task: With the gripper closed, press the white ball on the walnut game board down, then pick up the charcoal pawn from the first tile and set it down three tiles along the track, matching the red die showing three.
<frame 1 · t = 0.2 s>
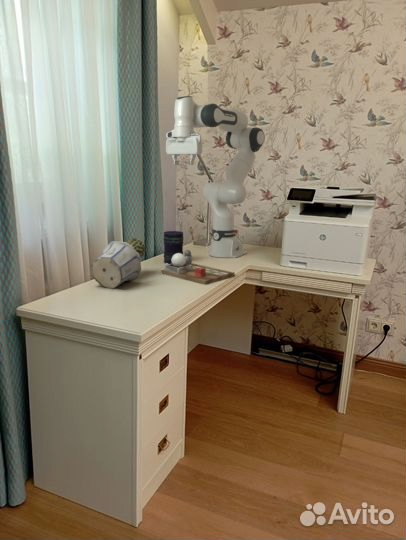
hand: (183, 164, 198), 47 cm above the table, fingers open, 8 cm apart
white ball: (178, 260, 190), point 6 cm above the table, slide at 0.0 cm
potted plant: (124, 281, 179), on the table
pawn: (187, 265, 199), point 2 cm above the table, touching board
storage jar: (173, 262, 215), on the table
board: (197, 274, 191), on the table
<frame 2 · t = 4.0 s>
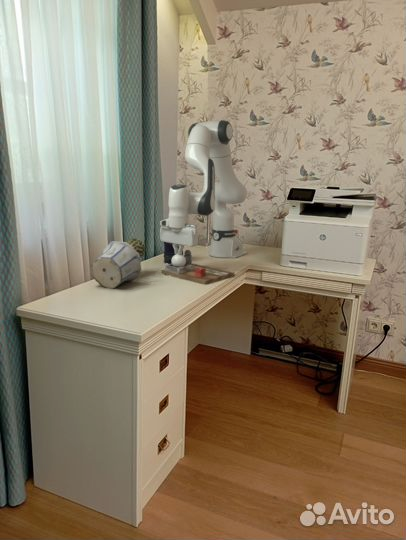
hand: (178, 254, 189), 9 cm above the table, fingers closed, pressing on white ball
white ball: (178, 261, 190), point 6 cm above the table, slide at -0.3 cm, touching gripper
everything else where it was.
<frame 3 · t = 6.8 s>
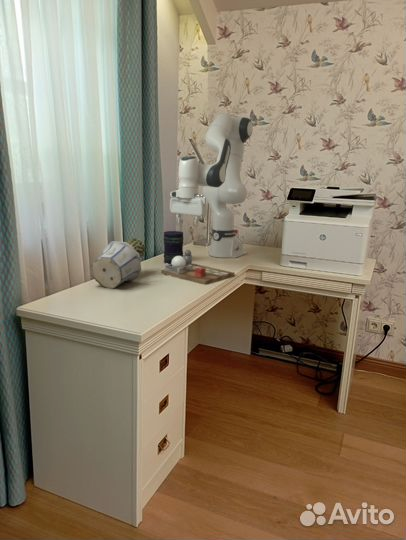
hand: (187, 224, 195), 21 cm above the table, fingers open, 8 cm apart
white ball: (178, 262, 190), point 5 cm above the table, slide at -1.2 cm
everything else where it was.
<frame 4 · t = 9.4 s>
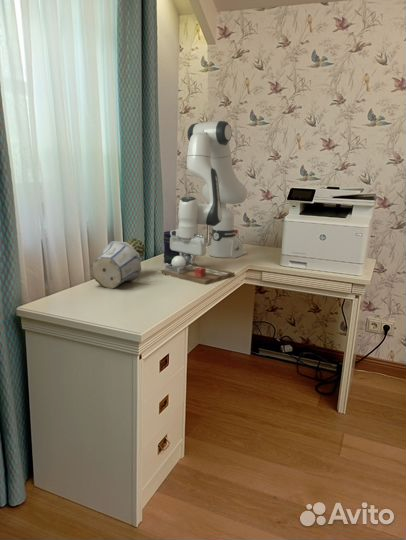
hand: (187, 262, 199), 3 cm above the table, fingers closed on pawn, 4 cm apart
pawn: (187, 265, 199), point 2 cm above the table, touching board, gripper
everything else where it was.
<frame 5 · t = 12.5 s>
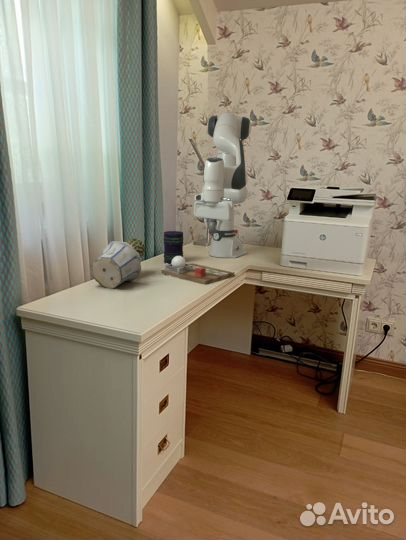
hand: (213, 229, 185), 21 cm above the table, fingers closed on pawn, 4 cm apart
pawn: (212, 232, 186), point 19 cm above the table, touching gripper
everything else where it was.
when the fingers open (4 cm above the table, at t = 15.6 s): pawn drops 1 cm, resting on board.
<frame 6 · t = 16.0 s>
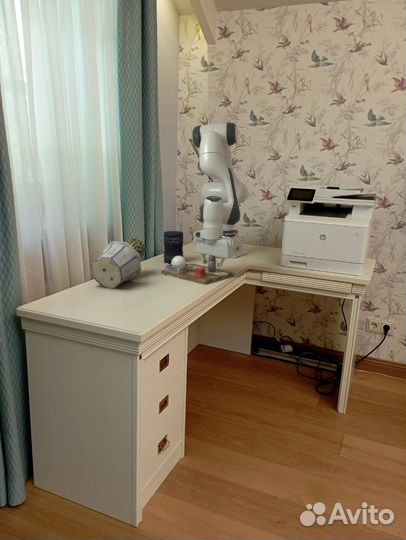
hand: (212, 265, 189), 4 cm above the table, fingers open, 7 cm apart
pawn: (211, 271, 190), point 2 cm above the table, touching board
everything else where it was.
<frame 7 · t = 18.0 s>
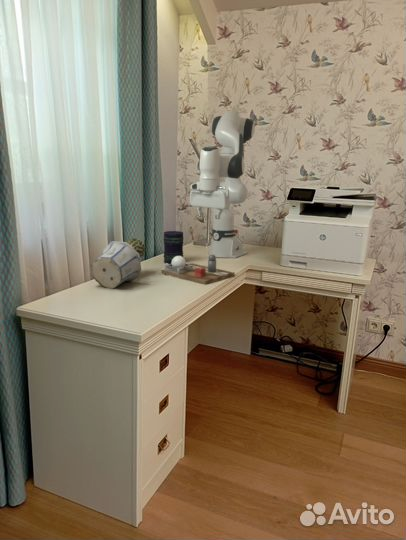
hand: (209, 218, 187), 25 cm above the table, fingers open, 8 cm apart
nothing on the table moved.
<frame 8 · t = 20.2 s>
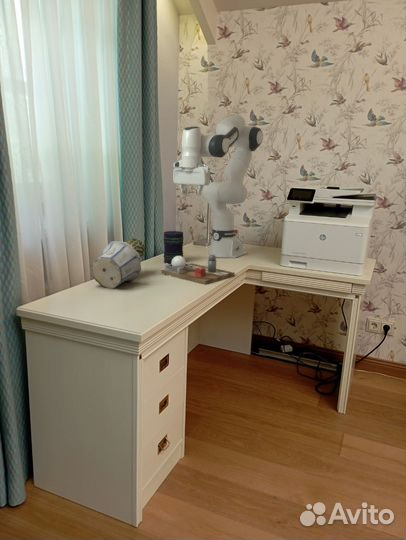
hand: (190, 194, 197), 34 cm above the table, fingers open, 8 cm apart
nothing on the table moved.
at the end: white ball slide at -1.2 cm; pawn 0.1 cm from the target spot on the board, point 1.7 cm above the board's base; pawn tilted 0° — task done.
